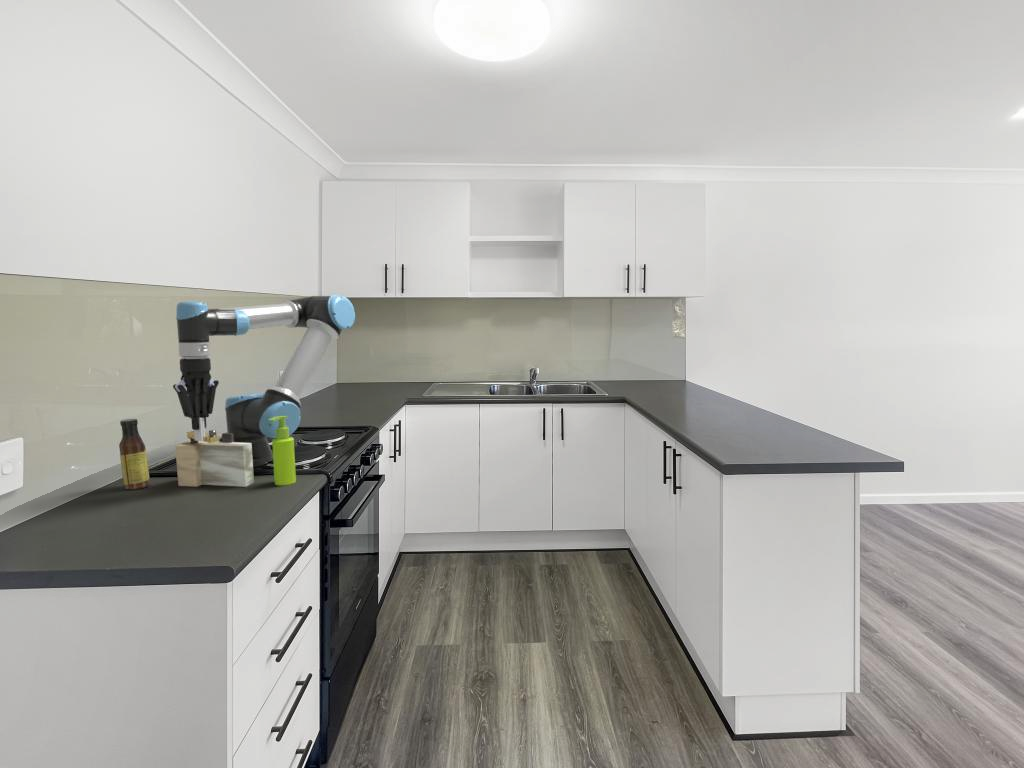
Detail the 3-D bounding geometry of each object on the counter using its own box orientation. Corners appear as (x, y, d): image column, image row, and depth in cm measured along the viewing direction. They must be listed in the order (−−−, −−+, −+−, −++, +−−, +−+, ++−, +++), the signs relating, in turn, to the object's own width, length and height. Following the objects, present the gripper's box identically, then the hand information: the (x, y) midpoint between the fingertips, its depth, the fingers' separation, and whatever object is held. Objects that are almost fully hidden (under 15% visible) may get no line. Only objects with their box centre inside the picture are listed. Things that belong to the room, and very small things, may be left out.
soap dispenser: (267, 484, 164) (263, 417, 161) (286, 478, 170) (283, 413, 167) (281, 487, 161) (277, 419, 158) (300, 481, 167) (296, 415, 165)
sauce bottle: (155, 484, 164) (149, 417, 162) (139, 491, 158) (132, 422, 156) (134, 483, 165) (128, 417, 163) (117, 490, 159) (111, 421, 156)
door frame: (197, 477, 171) (194, 430, 169) (258, 480, 168) (255, 432, 166) (178, 485, 163) (174, 436, 161) (241, 488, 160) (238, 438, 158)
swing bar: (185, 437, 164) (184, 426, 164) (196, 435, 167) (195, 425, 166) (209, 443, 157) (208, 432, 157) (220, 441, 160) (219, 430, 159)
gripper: (183, 359, 149) (189, 446, 152) (224, 356, 161) (228, 437, 164) (164, 358, 152) (169, 443, 155) (205, 355, 164) (209, 435, 166)
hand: (200, 440), depth 159 cm, fingers closed
